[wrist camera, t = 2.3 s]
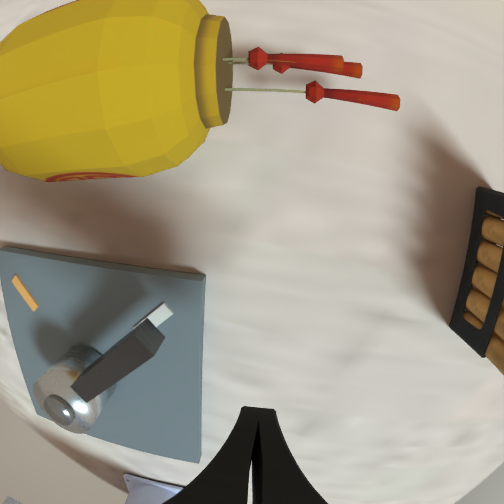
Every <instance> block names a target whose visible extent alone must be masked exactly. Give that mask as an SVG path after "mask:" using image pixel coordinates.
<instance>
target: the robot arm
mask: <svg viewBox="0 0 504 504" xmlns="http://www.w3.org/2000/svg"><path fill="white" fill-rule="evenodd" d="M251 461H252V492H253V504H328V503H327V502H326V501H325V500H324V499H323V498H322V497H321V496H320V494H319V493H318V492H317V491H316V490H315V489H314V488H313V486H312V485H311V484H310V482H309V481H308V480H307V478H306V477H305V475H304V474H303V473H302V471H301V469H300V468H299V466H298V465H297V463H296V461H295V459H294V458H293V456H292V454H291V452H290V450H289V448H288V446H287V443H286V441H285V439H284V436H283V434H282V431H281V429H280V426H279V423H278V419H277V415H276V411H275V410H274V409H267V408H257V407H247V406H244V407H242V408H241V411H240V415H239V417H238V420H237V422H236V424H235V426H234V428H233V430H232V432H231V433H230V435H229V437H228V439H227V440H226V442H225V443H224V445H223V446H222V448H221V449H220V450H219V452H218V453H217V455H216V456H215V457H214V458H213V460H212V461H211V462H210V463H209V464H208V465H207V467H206V468H205V469H204V470H203V471H202V472H201V473H200V474H199V475H198V476H197V477H196V478H195V479H194V480H193V481H192V482H190V483H189V484H188V485H187V486H186V487H184V488H182V487H177V486H172V485H168V484H164V483H159V482H155V481H151V480H147V479H144V478H140V477H136V476H133V475H129V474H124V475H123V478H124V481H125V484H126V486H127V489H128V492H129V495H128V498H127V500H126V502H125V504H247V498H248V483H249V470H250V465H251ZM3 504H21V503H20V502H18V501H17V500H15V499H13V498H12V497H10V496H7V498H6V499H5V501H4V502H3Z"/></svg>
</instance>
